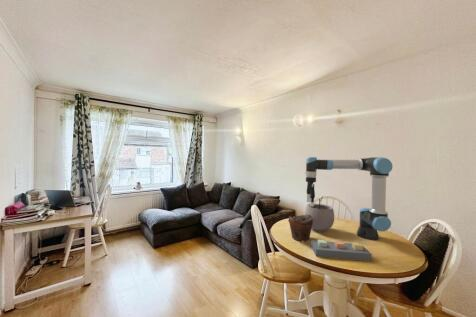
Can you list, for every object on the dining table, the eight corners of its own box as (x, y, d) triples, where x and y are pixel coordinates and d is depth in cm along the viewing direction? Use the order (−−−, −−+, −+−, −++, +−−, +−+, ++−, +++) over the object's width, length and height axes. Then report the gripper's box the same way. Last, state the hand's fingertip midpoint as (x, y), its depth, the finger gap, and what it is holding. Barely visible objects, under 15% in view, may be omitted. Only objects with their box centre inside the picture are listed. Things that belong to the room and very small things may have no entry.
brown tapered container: (283, 238, 158) (283, 215, 157) (296, 231, 172) (296, 210, 171) (304, 245, 145) (305, 220, 145) (316, 238, 159) (317, 215, 159)
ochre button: (359, 248, 135) (359, 242, 135) (362, 251, 130) (362, 245, 130) (351, 247, 136) (351, 242, 136) (354, 250, 131) (354, 245, 131)
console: (360, 250, 139) (361, 244, 139) (371, 261, 125) (371, 253, 125) (311, 246, 144) (311, 240, 144) (315, 256, 130) (316, 249, 130)
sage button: (324, 245, 138) (324, 240, 138) (326, 248, 133) (327, 243, 133) (317, 244, 139) (317, 239, 139) (319, 247, 134) (319, 242, 134)
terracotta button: (341, 246, 136) (342, 241, 136) (344, 249, 132) (344, 244, 132) (334, 246, 137) (334, 240, 137) (336, 249, 132) (336, 243, 132)
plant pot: (304, 232, 171) (305, 197, 170) (304, 223, 193) (305, 192, 193) (335, 236, 163) (336, 199, 163) (332, 227, 186) (333, 194, 186)
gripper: (303, 175, 170) (302, 200, 170) (309, 178, 145) (308, 207, 145) (312, 175, 168) (311, 201, 169) (320, 178, 144) (319, 208, 144)
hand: (310, 204), depth 157 cm, fingers open, 13 cm apart
